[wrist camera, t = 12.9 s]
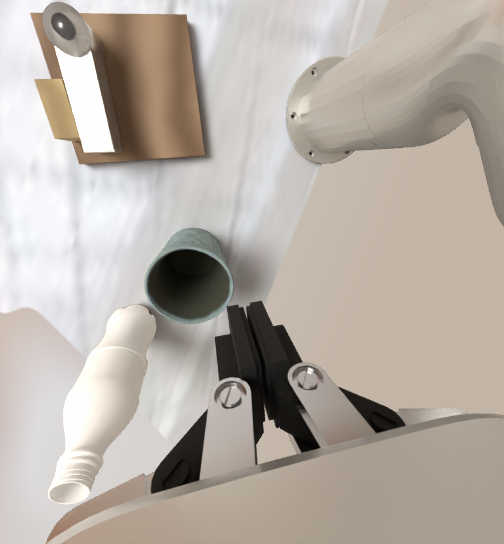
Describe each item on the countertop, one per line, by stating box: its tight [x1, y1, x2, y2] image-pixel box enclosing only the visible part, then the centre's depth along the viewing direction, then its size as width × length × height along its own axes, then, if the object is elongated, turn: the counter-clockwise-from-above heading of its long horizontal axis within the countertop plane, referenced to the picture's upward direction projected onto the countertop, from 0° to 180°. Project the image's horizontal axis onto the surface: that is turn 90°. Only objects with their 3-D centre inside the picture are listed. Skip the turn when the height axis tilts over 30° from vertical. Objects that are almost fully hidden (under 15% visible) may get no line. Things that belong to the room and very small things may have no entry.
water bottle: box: [48, 304, 156, 504], centre depth 31 cm, size 7×7×25 cm
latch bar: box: [43, 2, 124, 153], centre depth 26 cm, size 12×4×5 cm, turn 2°
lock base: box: [30, 13, 205, 164], centre depth 28 cm, size 15×14×6 cm
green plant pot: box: [144, 228, 234, 324], centre depth 35 cm, size 10×10×12 cm
